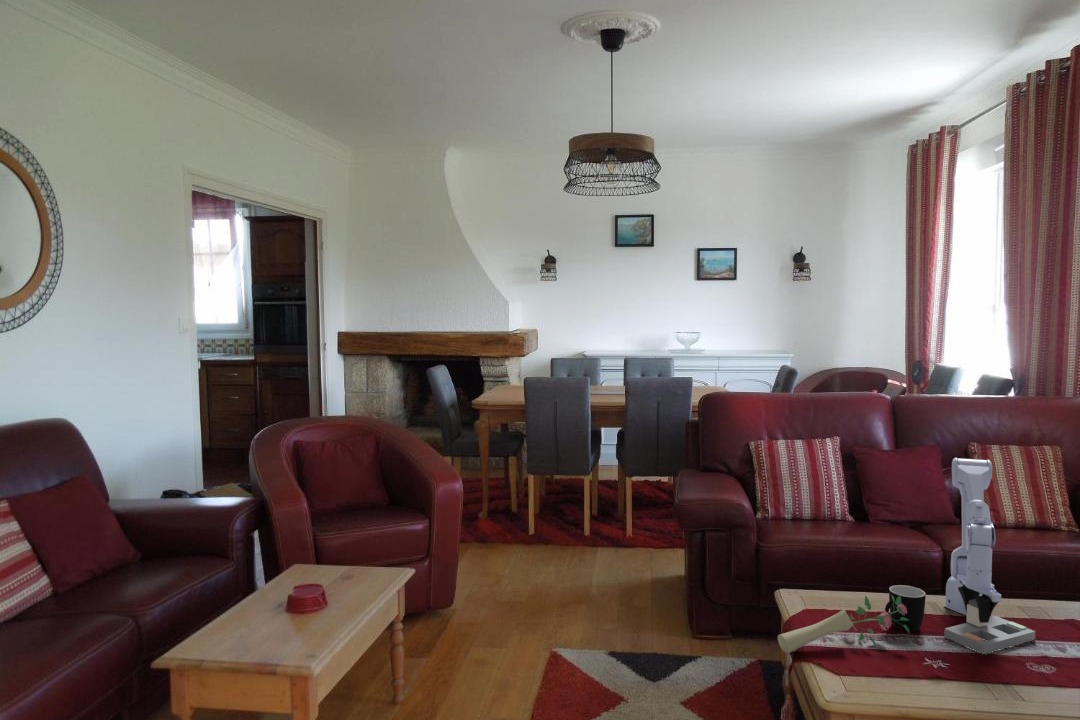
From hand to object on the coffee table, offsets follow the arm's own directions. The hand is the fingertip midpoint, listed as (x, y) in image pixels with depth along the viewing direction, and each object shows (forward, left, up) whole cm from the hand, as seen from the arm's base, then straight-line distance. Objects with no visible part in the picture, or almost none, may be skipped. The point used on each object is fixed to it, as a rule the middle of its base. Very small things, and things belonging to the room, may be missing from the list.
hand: (977, 618), depth 198 cm
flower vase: (-10, -39, -5) cm, 40 cm away
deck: (+4, 0, -4) cm, 6 cm away
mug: (-11, -15, -5) cm, 19 cm away
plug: (0, 0, -1) cm, 1 cm away
